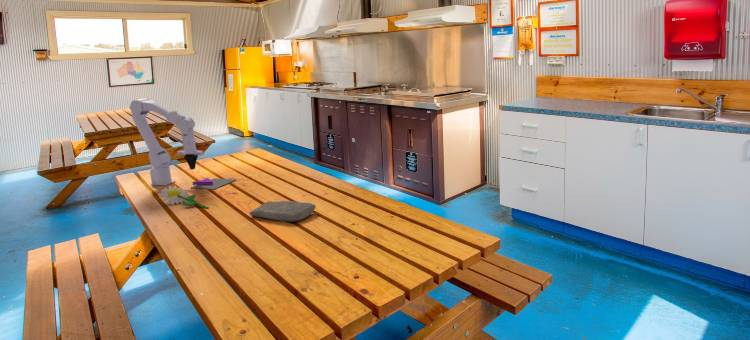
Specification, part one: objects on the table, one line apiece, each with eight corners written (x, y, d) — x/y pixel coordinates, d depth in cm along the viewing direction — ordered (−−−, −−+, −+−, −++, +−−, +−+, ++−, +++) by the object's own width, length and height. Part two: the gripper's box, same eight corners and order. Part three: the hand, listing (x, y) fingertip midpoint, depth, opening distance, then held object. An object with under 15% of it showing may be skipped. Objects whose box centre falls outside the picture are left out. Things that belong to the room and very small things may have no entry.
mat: (190, 188, 255) (190, 187, 255) (214, 179, 271) (214, 178, 271) (213, 189, 250) (213, 188, 250) (236, 180, 266) (236, 179, 266)
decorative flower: (221, 209, 226) (179, 192, 242) (220, 199, 224) (178, 182, 241) (195, 219, 216) (154, 201, 233) (194, 209, 214) (153, 191, 231)
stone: (318, 202, 204) (296, 214, 191) (319, 213, 205) (297, 225, 192) (265, 197, 216) (241, 208, 203) (266, 208, 217) (242, 219, 204)
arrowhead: (194, 182, 266) (191, 187, 256) (194, 179, 265) (191, 183, 256) (214, 179, 268) (213, 184, 258) (214, 176, 267) (212, 181, 258)
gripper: (171, 143, 259) (175, 170, 262) (195, 144, 254) (199, 171, 257) (181, 141, 265) (185, 167, 269) (204, 141, 260) (208, 168, 263)
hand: (192, 169), depth 263 cm, fingers closed
